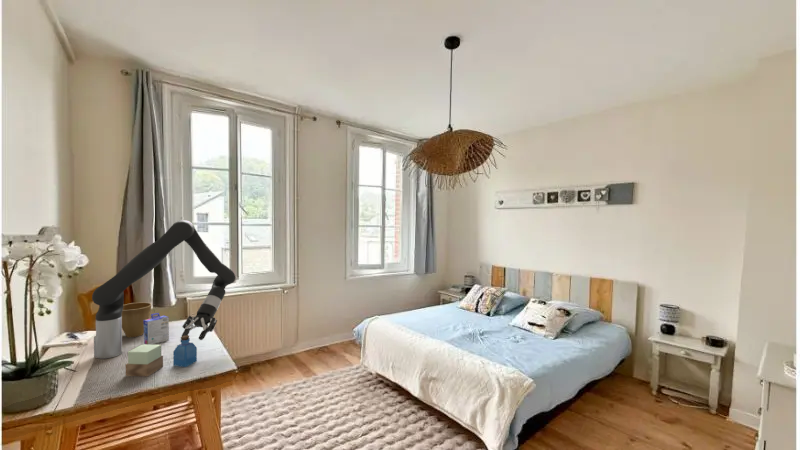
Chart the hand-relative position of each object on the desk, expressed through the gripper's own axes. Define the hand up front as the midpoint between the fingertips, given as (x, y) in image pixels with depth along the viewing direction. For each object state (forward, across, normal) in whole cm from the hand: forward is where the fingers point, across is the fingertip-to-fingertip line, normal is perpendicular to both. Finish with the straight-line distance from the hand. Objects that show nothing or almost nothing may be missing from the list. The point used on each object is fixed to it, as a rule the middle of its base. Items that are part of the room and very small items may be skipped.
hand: (191, 338), depth 156 cm
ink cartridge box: (-4, -34, +18) cm, 39 cm away
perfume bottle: (+10, 0, +4) cm, 11 cm away
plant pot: (-8, -53, +22) cm, 58 cm away
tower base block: (+17, -10, -3) cm, 20 cm away
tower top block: (+13, -10, -6) cm, 18 cm away
